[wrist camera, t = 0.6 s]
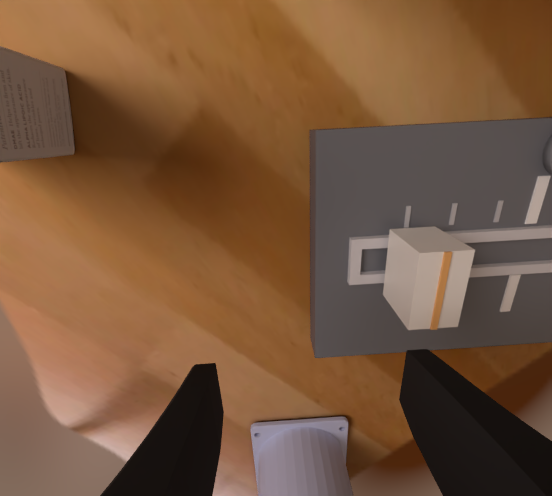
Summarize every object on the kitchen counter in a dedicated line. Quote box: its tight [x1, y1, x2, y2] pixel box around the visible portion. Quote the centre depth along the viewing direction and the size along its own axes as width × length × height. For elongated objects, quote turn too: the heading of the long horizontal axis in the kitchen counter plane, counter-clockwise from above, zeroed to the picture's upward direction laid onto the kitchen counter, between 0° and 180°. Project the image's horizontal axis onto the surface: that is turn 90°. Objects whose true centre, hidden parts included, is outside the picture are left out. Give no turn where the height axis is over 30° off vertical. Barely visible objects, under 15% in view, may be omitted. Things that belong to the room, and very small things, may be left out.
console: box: [310, 117, 552, 358], centre depth 17 cm, size 14×16×3 cm
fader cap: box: [383, 226, 475, 330], centre depth 15 cm, size 4×2×4 cm, turn 3°
